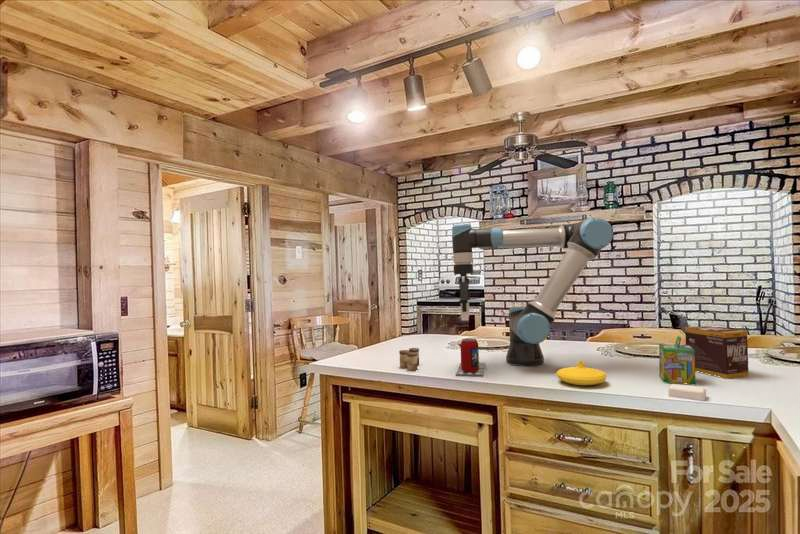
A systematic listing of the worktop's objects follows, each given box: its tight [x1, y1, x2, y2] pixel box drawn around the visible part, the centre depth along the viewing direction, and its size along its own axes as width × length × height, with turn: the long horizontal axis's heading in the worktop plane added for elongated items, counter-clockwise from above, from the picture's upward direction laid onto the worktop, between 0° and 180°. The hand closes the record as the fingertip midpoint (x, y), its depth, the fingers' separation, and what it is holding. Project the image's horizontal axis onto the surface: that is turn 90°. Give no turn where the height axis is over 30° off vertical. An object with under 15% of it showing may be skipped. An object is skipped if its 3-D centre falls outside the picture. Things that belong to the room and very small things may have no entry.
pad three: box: [455, 367, 485, 378], centre depth 167 cm, size 10×10×1 cm
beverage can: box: [460, 338, 480, 372], centre depth 168 cm, size 7×7×12 cm
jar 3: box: [406, 352, 419, 372], centre depth 176 cm, size 4×4×7 cm
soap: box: [667, 383, 707, 402], centre depth 130 cm, size 9×6×3 cm, turn 50°
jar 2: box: [408, 347, 420, 367], centre depth 185 cm, size 4×4×7 cm
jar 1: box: [399, 349, 410, 370], centre depth 180 cm, size 4×4×7 cm
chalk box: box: [658, 335, 697, 385], centre depth 148 cm, size 9×9×15 cm
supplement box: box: [684, 325, 750, 379], centre depth 156 cm, size 10×15×16 cm
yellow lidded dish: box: [556, 361, 608, 386], centre depth 149 cm, size 16×16×7 cm
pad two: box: [458, 362, 486, 370], centre depth 178 cm, size 10×10×1 cm
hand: (465, 318), depth 172 cm, fingers open, 13 cm apart
